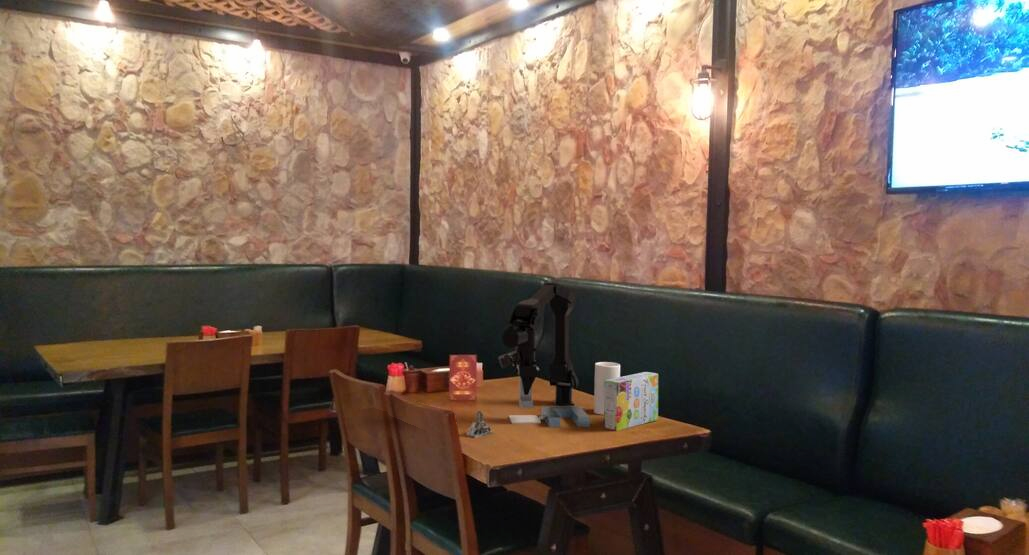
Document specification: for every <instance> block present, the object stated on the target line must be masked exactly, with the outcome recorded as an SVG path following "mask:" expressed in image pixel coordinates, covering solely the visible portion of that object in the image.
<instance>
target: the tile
mask: <svg viewBox="0 0 1029 555" xmlns="http://www.w3.org/2000/svg"><path fill="white" fill-rule="evenodd" d="M508 418H509V420H510V422H511V424H542V422H541V421H542V420H539V416H538V415H537V414H536V415H535V414H533V415H532V414H530V415H529V414H523V415H522V414H520V415H519V414H516V415H512V414H511V415H508Z"/></svg>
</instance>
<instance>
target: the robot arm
mask: <svg viewBox="0 0 1029 555" xmlns="http://www.w3.org/2000/svg"><path fill="white" fill-rule="evenodd" d="M575 300H576V295H575V293H574V292H573V290H572V289H570V288H568V287H565V286H563V285H561V284H560V283H558V282H553V281H552V282H550V281H547V282H544V283H543V284H542V287H541V288H540V289H538V291H536V292H535V293H534V294H533V295H532V296H531V297H530V298H528V299H524V300H521V301H519V302H518V303H516V305H515V306H514V308H513V310H512V312H511V316H510V319H509V322H508V325H507V329H506V330H505V331H503V333H502V335H501V336H502V337H501V340H502V344H503V345H504V347H507V348H510V349H512V348H514V350H513V351H510V352H507V353H504V354H502V355H499V356H498V357H497V358H498V360H499V364H500V366H501V368H502V369H505V368H508V367H509V366H511V365H512V366H513V367H514V371H515V372H516V374H517V375H518V376H520V377H521V378H522V383H523V390H524V394H525V395H528V393H529V391H530V389H531V387H532V386H533V384H534V382H535V380H536V377H538V376H540V372H541V371H540V370H541V369H540V367H538V366H537V360H536V352H537V347H536V329H538V328H539V326H538V324H537V322H538V320H539V319H540V317H541V316H542V313H541V311H542V310H543V308H545V306H547V305H548V304H549V309H550V310H551V313H552V314H553V316H554V317H553V319H554V321H553V323H554V358H553V359H552V361H551V362H550V363H549V364H548V381H549V386H550V387H551V386H552V387H555V395H554V396H555V399H554V400H552V403H553V404H554V406H575V403H574V402H573V389H577V388H578V386H579V379H578V376H577V373H576V372H575V370H574V367H575V366H574V363H573V362H572V359H571V358H570V355H569V354H570V351H569V349H570V346H569V344H570V336H569V335H570V329H569V328H570V327H569V326H570V325H569V324H570V322H569V320H570V319H569V318H570V313H572V311H573V308H574V305H575Z"/></svg>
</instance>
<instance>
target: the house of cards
mask: <svg viewBox="0 0 1029 555" xmlns="http://www.w3.org/2000/svg"><path fill="white" fill-rule="evenodd" d="M483 417H484V415H483V412H482V411H481V410H477V412H476V415H475V421H473V422H472V423H471V425H470V427H468V429H467V431H466V433H465V435H466V436H468V437H470V438H475V439H476V438H480V437H484V436H489V435H493V432H494V431H492V430H491V428H490V426H488V425H487V422H486V421H484V420H483Z"/></svg>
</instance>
